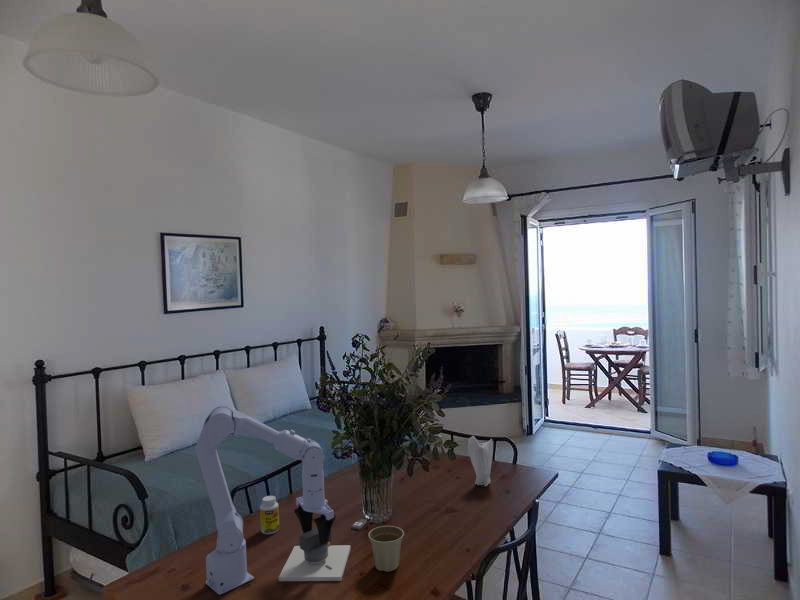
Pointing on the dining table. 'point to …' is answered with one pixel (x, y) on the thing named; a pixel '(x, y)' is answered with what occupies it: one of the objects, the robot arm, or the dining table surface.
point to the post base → (316, 565)
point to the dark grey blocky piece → (314, 546)
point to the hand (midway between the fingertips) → (315, 538)
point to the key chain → (359, 524)
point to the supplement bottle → (269, 515)
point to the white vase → (481, 459)
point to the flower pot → (386, 546)
